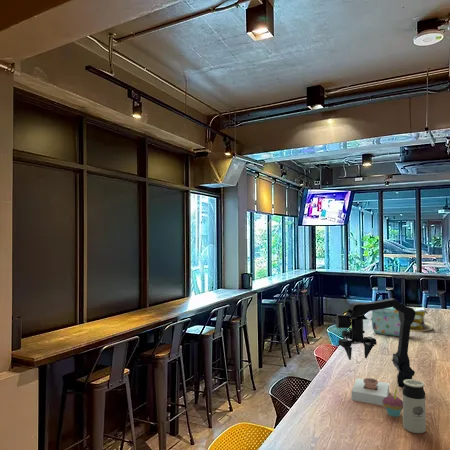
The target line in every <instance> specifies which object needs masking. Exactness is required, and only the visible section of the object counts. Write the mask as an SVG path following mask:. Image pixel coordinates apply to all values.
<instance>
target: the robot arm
mask: <svg viewBox="0 0 450 450" xmlns="http://www.w3.org/2000/svg"><path fill="white" fill-rule="evenodd" d="M390 307H393V308H394V309H396V310H397V311H398V312H399V319H400V323H401V324H400V334H399V336H398V344H397V345H398V346H397V351H396V352H395V353H392V360H391V361H392V363H393V366H394V367H395V368H396V370H397V371H398V373H397V375H396V381H397V385H398V387H402V388H404V383H403V381H404V380H406V379H413V377H414V376H415V373H416V372H415V371H414V369H412V367H411V364H410V357H409V354H408V353H409V345H410V334H411V331H410V326H411V324H412V323H413V321H414V318H415V311H414V309H412V308H413V307H412V308H410V307H411V306H407V305H405V304H403V303H401V302H399V301H398V300H397V299H396V298H392V297H390V298H387V299H381V300H376V301H375V300H374V301H370V302H362V301H360V302H358V301H357V302H356V301H354V302H352V303H351V304H350V305H349V309H348V310H347V312H346V313H345V314H339V313H337V314H336V318H335V326H336V328H337V329H349V328H350V329H349V331H347V330H342V332H341V337H342V338H339V340H338V343H337V344H338V345H339V346H341V347H342V348H344V350H345V353H346V355H347V358H348V360H349V361H351V360H352V354H353V353H352V352H353V347H351V346H352V345H359V344H363V346H364V347H363V348H364V351H363V353H364V358H365V359H367V358H368V357H369V354H370V353H371V351H372V349H373V347H375V345H378V344H377V342H378V341H377V339H376V338H374V337H372V336H364V334H365V333H366V330H364V320H365V321H366V320H368V317H366V316H365V315H366V314H367V313H369V312H372V311H373V310H379V309H384V308H390Z"/></svg>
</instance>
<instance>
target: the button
mask: <svg viewBox="0 0 450 450" xmlns="http://www.w3.org/2000/svg"><path fill="white" fill-rule="evenodd" d="M363 379H364V383H365V389H371V390H376V385H378V382H379V381H378V380H377V379H375V378H370V377H367V378H363Z"/></svg>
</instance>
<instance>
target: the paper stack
mask: <svg viewBox="0 0 450 450" xmlns="http://www.w3.org/2000/svg"><path fill="white" fill-rule="evenodd" d="M409 307H410V308H412V309H414V311H415V318H414V321H413V323H412V324H411V326H410V332H421V333H422V332H428V331H432V330H433V329H434V326H433V324H431V323H429V322H427V321H425V318H424V317H425V314H428V312H427V310H426V307H411V306H409Z"/></svg>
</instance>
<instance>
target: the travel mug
mask: <svg viewBox="0 0 450 450" xmlns="http://www.w3.org/2000/svg"><path fill="white" fill-rule="evenodd" d="M403 383H404V387H402V401H403V409H402V428H404V429H405V430H406V431H407V432H410V433H413V434H423V433H425V432H426V427H427V426H426V425H427V424H426V391H425V390H424V387H425V383H424V382H422V381H420V380H417V379H413V378H412V379H406V380H404V381H403Z"/></svg>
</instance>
